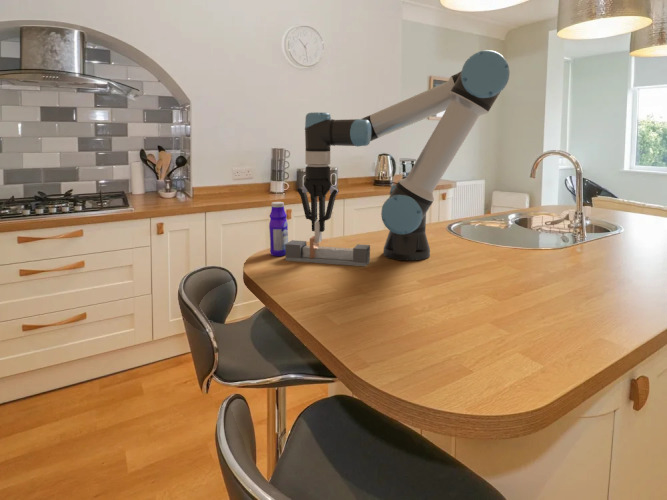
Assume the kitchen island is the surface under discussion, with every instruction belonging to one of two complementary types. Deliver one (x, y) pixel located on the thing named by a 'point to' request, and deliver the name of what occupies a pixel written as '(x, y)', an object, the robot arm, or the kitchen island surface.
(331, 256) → the long square rod
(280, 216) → the bottle
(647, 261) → the kitchen island surface
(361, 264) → the rail
